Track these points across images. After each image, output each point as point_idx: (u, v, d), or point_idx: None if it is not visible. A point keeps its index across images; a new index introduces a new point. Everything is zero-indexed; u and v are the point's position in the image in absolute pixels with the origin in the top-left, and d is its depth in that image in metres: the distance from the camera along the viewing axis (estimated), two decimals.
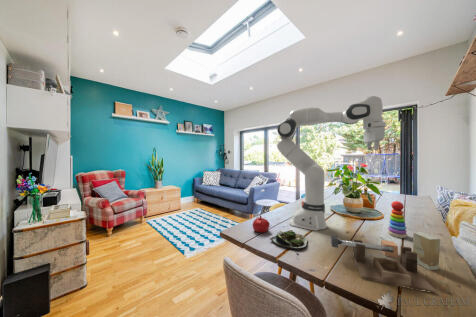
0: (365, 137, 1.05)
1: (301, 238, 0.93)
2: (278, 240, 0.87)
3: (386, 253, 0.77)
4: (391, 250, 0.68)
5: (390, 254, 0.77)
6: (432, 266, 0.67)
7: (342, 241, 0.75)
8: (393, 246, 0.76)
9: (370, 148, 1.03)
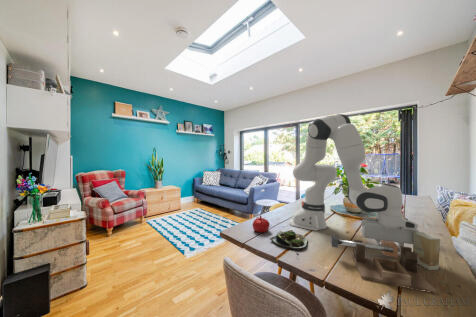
0: (374, 232, 0.79)
1: (301, 238, 0.93)
2: (278, 240, 0.87)
3: (386, 253, 0.77)
4: (391, 250, 0.68)
5: (390, 254, 0.77)
6: (432, 266, 0.67)
7: (342, 241, 0.75)
8: (393, 246, 0.76)
9: None
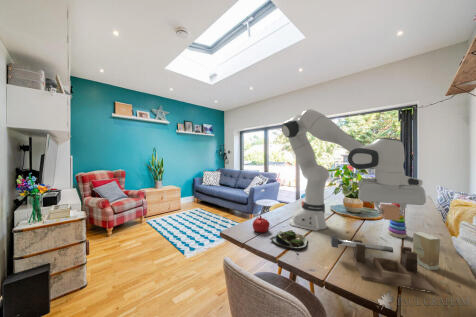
0: (373, 194, 0.69)
1: (301, 238, 0.93)
2: (278, 240, 0.87)
3: (386, 216, 0.67)
4: (391, 250, 0.68)
5: (391, 217, 0.67)
6: (432, 266, 0.67)
7: (342, 241, 0.75)
8: (394, 208, 0.66)
9: None
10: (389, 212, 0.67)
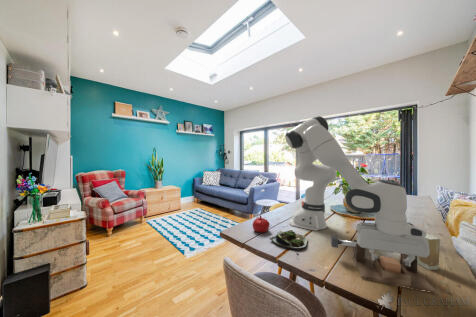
0: (372, 241, 0.64)
1: (301, 238, 0.93)
2: (278, 240, 0.87)
3: None
4: None
5: None
6: (432, 266, 0.67)
7: (342, 241, 0.75)
8: (395, 265, 0.62)
9: None
10: (389, 268, 0.62)
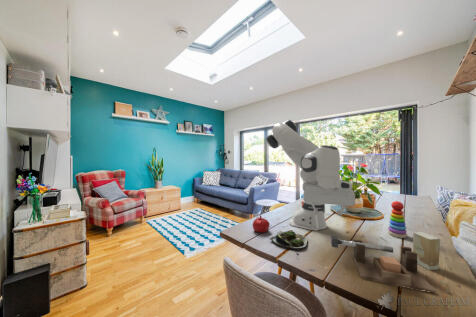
0: (313, 196, 0.77)
1: (301, 238, 0.93)
2: (278, 240, 0.87)
3: None
4: (391, 250, 0.68)
5: None
6: (432, 266, 0.67)
7: (342, 241, 0.75)
8: (395, 265, 0.62)
9: None
10: (389, 268, 0.62)
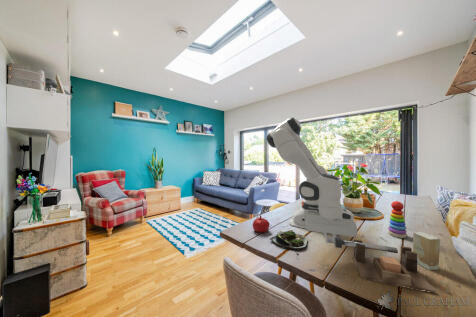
0: (315, 224, 0.77)
1: (301, 238, 0.93)
2: (278, 240, 0.87)
3: None
4: (395, 251, 0.68)
5: None
6: (432, 266, 0.67)
7: (346, 242, 0.74)
8: (395, 265, 0.62)
9: None
10: (389, 268, 0.62)
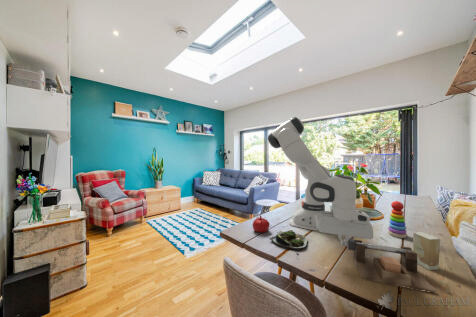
0: (328, 226, 0.75)
1: (301, 238, 0.93)
2: (278, 240, 0.87)
3: None
4: None
5: None
6: (432, 266, 0.67)
7: None
8: (395, 265, 0.62)
9: None
10: (389, 268, 0.62)
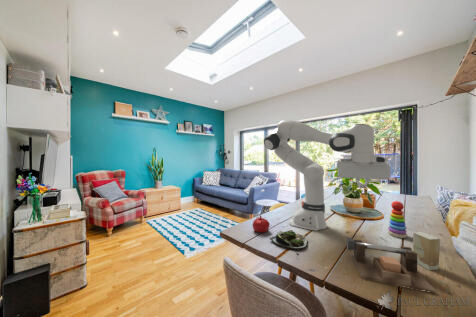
0: (348, 171, 0.82)
1: (301, 238, 0.93)
2: (278, 240, 0.87)
3: None
4: None
5: None
6: (432, 266, 0.67)
7: (359, 243, 0.72)
8: (395, 265, 0.62)
9: None
10: (389, 268, 0.62)
